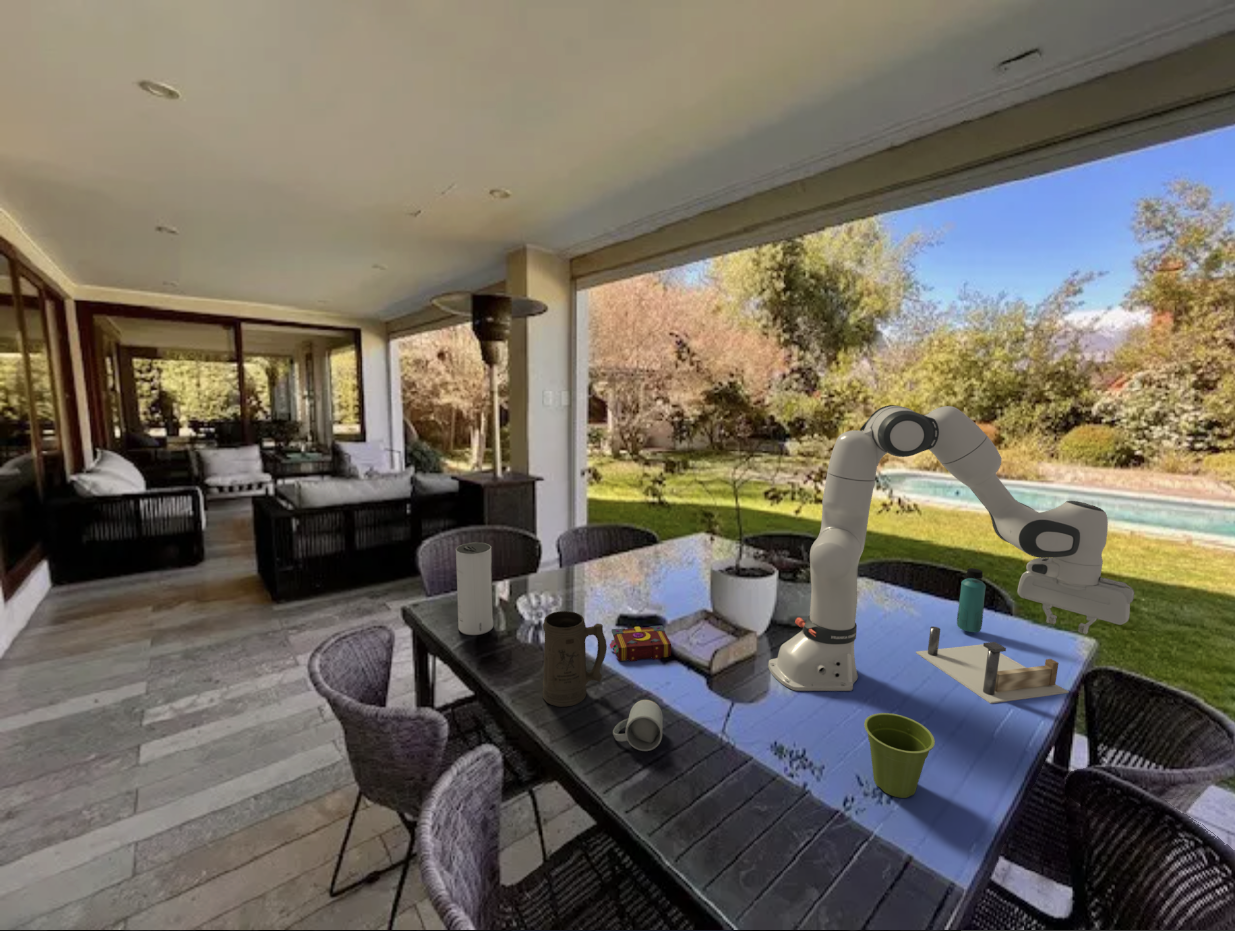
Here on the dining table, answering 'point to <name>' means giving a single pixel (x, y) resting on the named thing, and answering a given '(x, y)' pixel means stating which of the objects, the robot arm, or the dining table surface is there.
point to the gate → (1027, 677)
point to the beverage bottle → (971, 601)
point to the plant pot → (897, 752)
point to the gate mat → (983, 672)
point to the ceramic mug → (642, 726)
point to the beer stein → (569, 658)
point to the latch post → (933, 641)
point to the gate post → (992, 666)
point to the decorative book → (640, 643)
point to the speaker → (474, 588)
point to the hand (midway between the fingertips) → (1066, 627)
